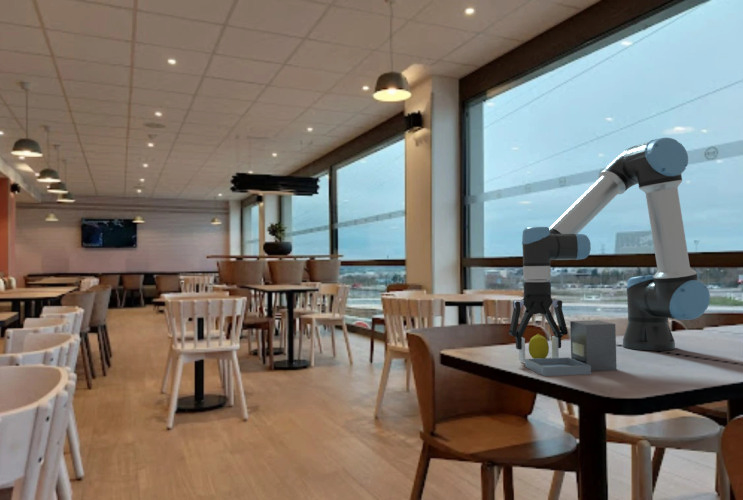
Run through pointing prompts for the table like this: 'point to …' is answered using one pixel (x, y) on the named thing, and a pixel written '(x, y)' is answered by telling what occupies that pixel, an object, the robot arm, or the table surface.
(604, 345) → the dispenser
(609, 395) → the table surface
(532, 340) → the lemon
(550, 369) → the dish
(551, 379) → the table surface
